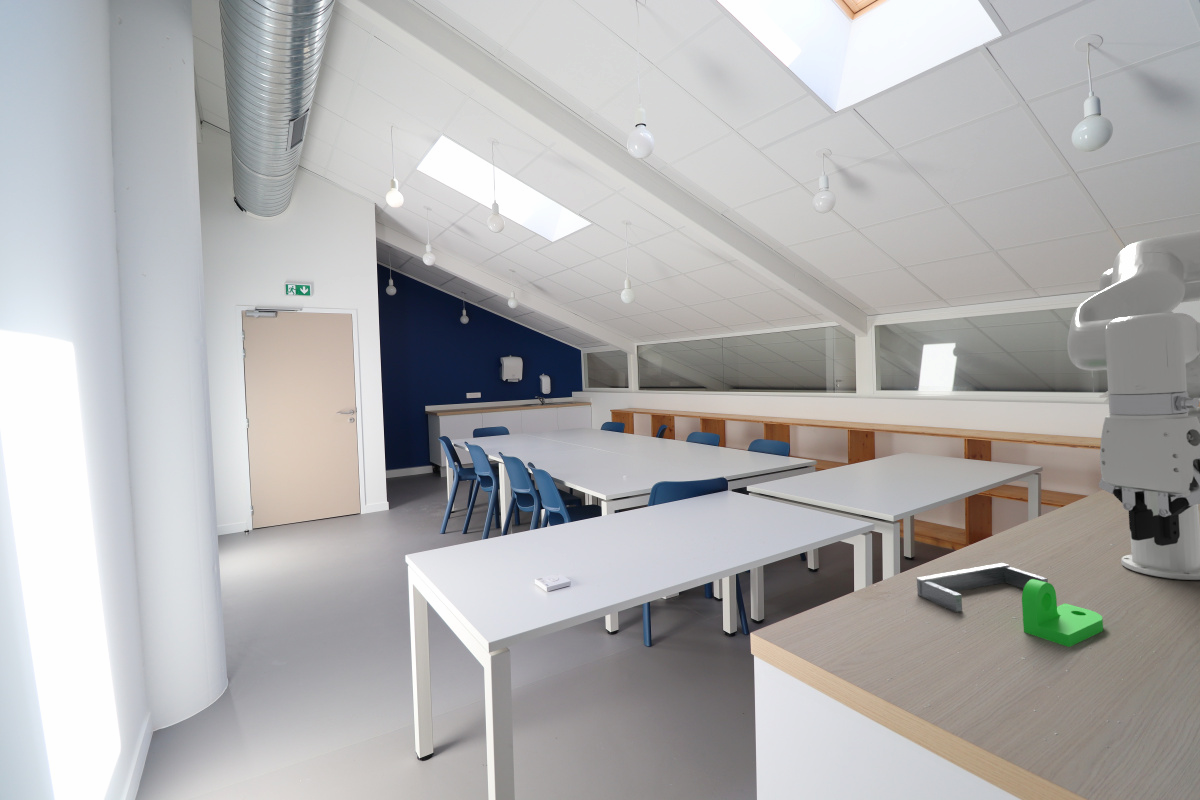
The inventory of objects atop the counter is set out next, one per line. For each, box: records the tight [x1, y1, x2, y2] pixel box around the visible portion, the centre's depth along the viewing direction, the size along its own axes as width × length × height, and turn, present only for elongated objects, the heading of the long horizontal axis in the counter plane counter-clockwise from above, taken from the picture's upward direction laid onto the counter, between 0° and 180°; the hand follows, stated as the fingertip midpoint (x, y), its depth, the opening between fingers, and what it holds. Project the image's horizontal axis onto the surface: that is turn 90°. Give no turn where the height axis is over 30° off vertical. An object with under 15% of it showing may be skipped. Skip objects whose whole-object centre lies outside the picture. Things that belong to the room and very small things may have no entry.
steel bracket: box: [916, 562, 1049, 613], centre depth 101 cm, size 20×9×3 cm, turn 103°
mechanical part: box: [1021, 579, 1104, 648], centre depth 86 cm, size 12×6×8 cm, turn 115°
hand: (1154, 540), depth 74 cm, fingers closed
